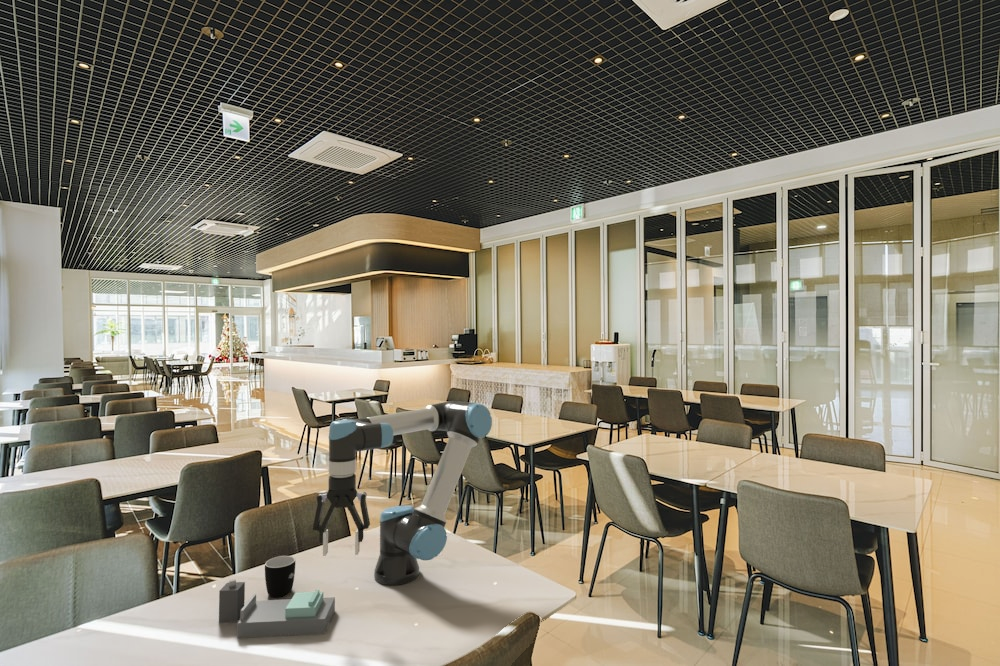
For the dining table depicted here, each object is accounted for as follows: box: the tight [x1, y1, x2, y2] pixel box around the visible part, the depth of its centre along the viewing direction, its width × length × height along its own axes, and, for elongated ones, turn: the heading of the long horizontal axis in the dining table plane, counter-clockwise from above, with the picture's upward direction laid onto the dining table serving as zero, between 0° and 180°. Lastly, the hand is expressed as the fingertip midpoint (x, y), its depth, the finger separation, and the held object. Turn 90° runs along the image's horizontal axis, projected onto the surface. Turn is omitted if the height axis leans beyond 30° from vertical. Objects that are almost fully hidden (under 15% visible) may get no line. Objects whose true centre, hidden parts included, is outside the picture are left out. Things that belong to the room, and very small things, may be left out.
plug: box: [218, 578, 246, 623], centre depth 146 cm, size 5×5×11 cm
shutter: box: [285, 589, 324, 618], centre depth 143 cm, size 8×9×4 cm
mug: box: [264, 555, 296, 599], centre depth 162 cm, size 12×9×10 cm
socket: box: [236, 593, 336, 639], centre depth 143 cm, size 23×12×7 cm, turn 96°
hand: (341, 553), depth 145 cm, fingers open, 8 cm apart
